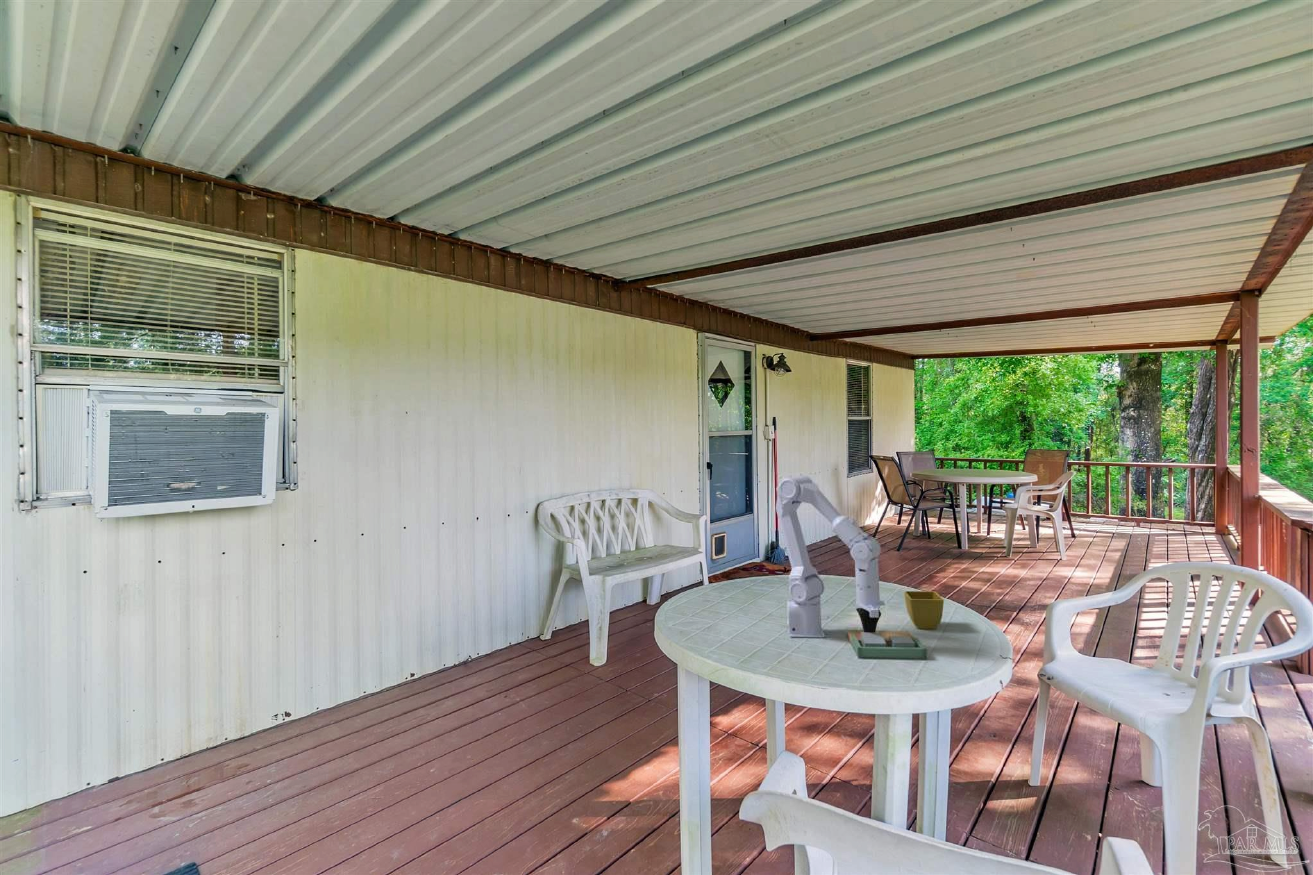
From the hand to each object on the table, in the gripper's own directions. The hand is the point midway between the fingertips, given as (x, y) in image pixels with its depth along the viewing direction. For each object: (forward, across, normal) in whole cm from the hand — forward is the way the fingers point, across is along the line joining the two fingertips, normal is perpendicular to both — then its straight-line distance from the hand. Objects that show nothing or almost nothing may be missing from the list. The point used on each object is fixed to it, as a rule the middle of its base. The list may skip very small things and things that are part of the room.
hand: (869, 637), depth 150 cm
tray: (+2, -4, -4) cm, 6 cm away
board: (+2, +4, -4) cm, 6 cm away
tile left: (+1, -3, 0) cm, 3 cm away
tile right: (+2, -3, -7) cm, 8 cm away
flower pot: (+3, +17, -18) cm, 25 cm away
